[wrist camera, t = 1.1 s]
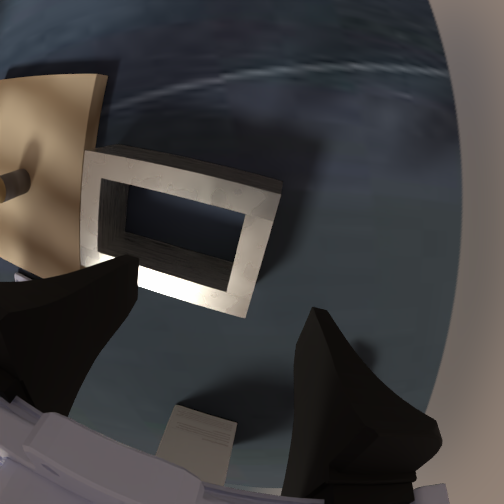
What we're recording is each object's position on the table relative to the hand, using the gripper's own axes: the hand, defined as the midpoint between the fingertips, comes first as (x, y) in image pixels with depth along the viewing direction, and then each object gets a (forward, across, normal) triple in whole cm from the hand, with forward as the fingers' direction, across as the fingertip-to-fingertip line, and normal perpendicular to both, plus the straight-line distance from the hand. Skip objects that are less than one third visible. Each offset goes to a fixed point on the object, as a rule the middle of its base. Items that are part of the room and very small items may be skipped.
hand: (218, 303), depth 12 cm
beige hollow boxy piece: (+10, +5, 0) cm, 11 cm away
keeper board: (+9, +20, 0) cm, 22 cm away
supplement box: (+10, 0, +25) cm, 27 cm away
